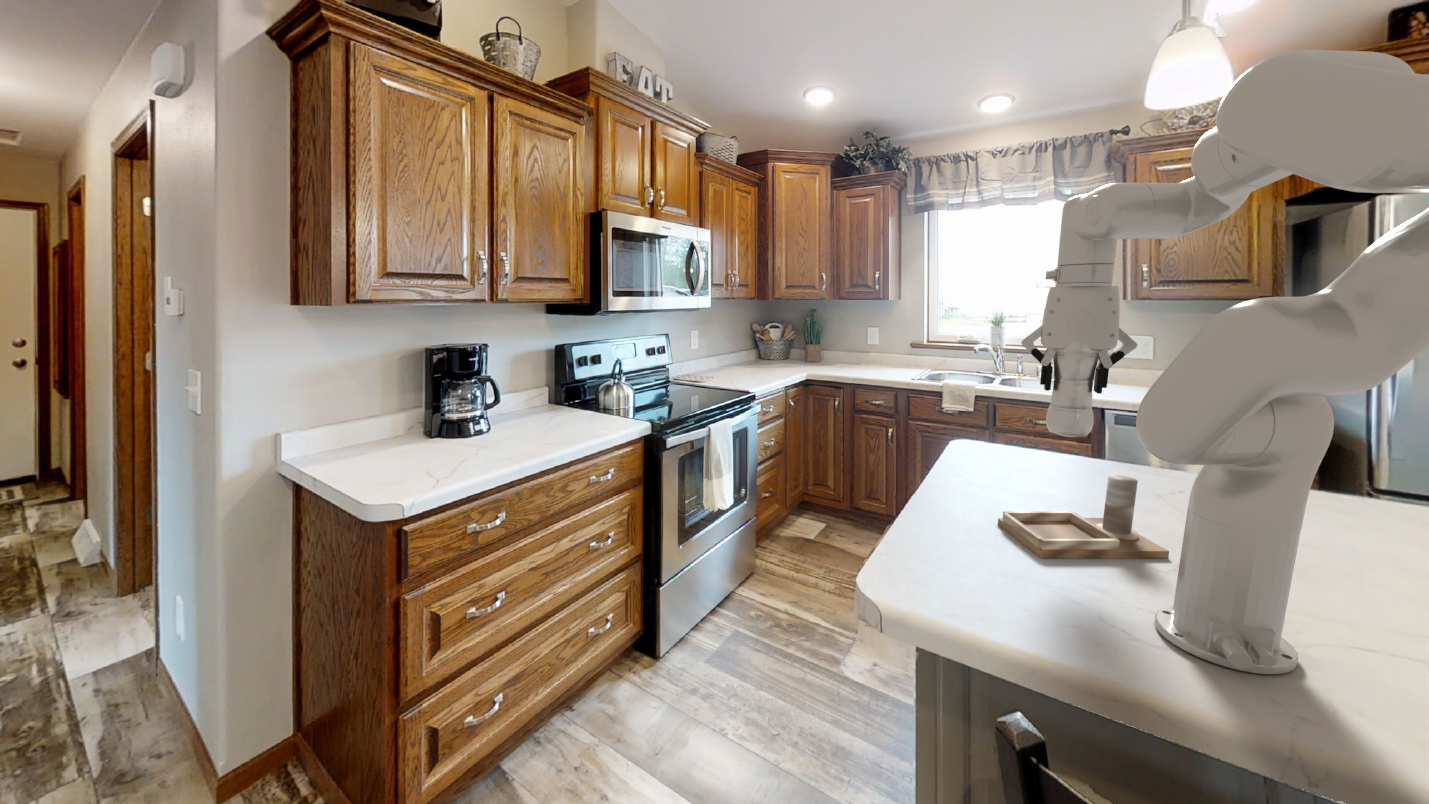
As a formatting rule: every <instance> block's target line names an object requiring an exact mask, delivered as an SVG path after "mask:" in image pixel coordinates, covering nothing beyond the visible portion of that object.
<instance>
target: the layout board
mask: <svg viewBox="0 0 1429 804" xmlns="http://www.w3.org/2000/svg"><path fill="white" fill-rule="evenodd" d="M1138 482H1139V481H1138V479H1136V478H1134V477H1131V476H1126V475H1118V474H1113V475H1108V476H1107V485H1106V493H1105V500H1104V501H1105V502H1104V509H1103V516H1102V517H1082V516H1081V515H1080V514H1078V513H1076V512H1072V511H1070V510H1069V511H1067V510H1065V511H1064V510H1062V511H1060V510H1059V511H1057V510H1055V511H1054V510H1053V511H1050V510H1049V511H1048V510H1046V511H1045V510H1044V511H1036V510H1033V511H1031V510H1029V511H1026V510H1025V511H1024V510H1023V511H1022V510H1021V511H1018V510H1017V511H1016V510H1015V511H1006V510H1005V511H1003V512H1002V517H998V518H997V525H998V527H1000V528H1002V529H1003V530H1004V531H1005V532H1007V533H1008V534H1009V535H1010V536H1012V537H1013V538H1014V539H1015V540H1017V541H1018V542H1019V543H1021V544H1022V545H1023V546H1024V547H1026V548H1027V549H1028V550H1029V551H1030V552H1032V553H1033V554H1035V555H1036V556H1037V557H1039V558H1040V559H1047V560H1048V559H1169V555H1170V551H1169V550H1168V549H1166V548H1164V547H1162V546H1161V545H1159V544H1157V543H1156V542H1153V541H1151V539H1148V538H1146V537H1144V536H1142V535H1140V533H1139V532H1138V531H1137V530H1135V529H1133V528H1132V527H1133V519H1134V512H1135V504H1136V498H1137V490H1138Z"/></svg>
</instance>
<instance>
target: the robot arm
mask: <svg viewBox="0 0 1429 804" xmlns="http://www.w3.org/2000/svg"><path fill="white" fill-rule="evenodd" d="M1190 163H1191V164H1190V166H1191V167H1190V168H1191V172H1192V175H1193V177H1191V178H1188V179H1186V180H1182V181H1179V182H1174V183H1173V182H1113V183H1108V184H1104V185H1102V186H1100V187H1098V188H1096V189H1094V190H1093V191H1090V192H1089V193H1083V194H1079V195H1075V196H1072V197H1070V198H1068V199H1067V200H1066V201H1065V202H1064V205H1063V206H1062V207H1063V208H1062V214H1061V215H1062V216H1061V225H1060V235H1059V246H1058V254H1057V255H1058V257H1057V267H1056V268H1055V269H1052V270H1047V271H1046V272H1045V280H1051V281H1053V282H1054V286H1050V287H1049V290H1048V294H1047V296H1046V301H1045V306H1044V310H1043V316H1042V317H1043V318H1042V324H1041V325H1040V326H1039V327H1038V328H1036V329H1035V330H1034V331H1032V332H1031V333H1030V334H1028V335H1027V336H1026V337H1025V338H1023V339H1022V340H1021V345H1022V346H1023V348H1025V350H1027V351H1028V352H1029V354H1030V355H1032V357H1033V358H1034V359H1036V360H1037V362H1038V363H1040V364H1041V371H1040V380H1039V383H1040V385H1043V386H1044V387H1043V389H1044V391H1051V388H1052V380H1053V378H1052V377H1053V371H1054V366H1053V365H1052V360H1053V357H1054V355H1055V354H1056V350H1064V349H1067V348H1068V346H1069V345H1070V344H1071V343H1073V342H1075V341H1081V342H1084V343H1086V344H1087V346H1088V347H1089V349H1091V350H1092V351H1099V353H1098V355H1099V359H1098V364H1097V365H1098V366H1096V369H1095V375H1094V380H1093V392H1095V393H1096V394H1102V392H1103V388H1104V389H1106V388H1107V387H1108V380H1109V372H1110V370H1109V369H1110V368H1111V367H1113V365H1115V364H1117V363H1118V362H1120V361H1121V360H1123V358H1125V356H1127V355H1129V354H1130V353H1131V352H1133V351H1134V350H1135V349H1136V348H1138V343H1137V342H1136V341H1134V340H1133V339H1132V338H1131V336H1129V335H1128V333H1126V332H1125V331H1124V330H1122V329H1121V327H1120V317H1121V316H1120V313H1121V312H1120V311H1121V310H1120V307H1121V302H1120V289H1119V286H1118V285H1113V279H1114V270H1115V264H1116V263H1115V261H1116V259H1115V258H1116V254H1117V244H1118V240H1132V239H1133V240H1134V239H1135V240H1143V239H1144V240H1167V239H1174V238H1178V237H1182V236H1186V235H1188V234H1191V233H1194V232H1196V231H1199V230H1202V229H1204V228H1207V227H1209V226H1212V225H1215V224H1217V223H1218V222H1221V221H1223V220H1225V219H1227V218H1229V217H1230V216H1231V215H1233V214H1234V213H1235V212H1236V211H1237V210H1239V208H1240V207H1241V206H1242V205H1243V204H1244V203H1245V202H1246V201H1247V200H1248V198H1249V196H1251V193H1252V192H1254V191H1256V190H1259V189H1262V188H1263V187H1266V186H1268V185H1271V184H1273V183H1274V182H1277V181H1280V180H1283V179H1285V178H1287V177H1288V176H1292V175H1295V176H1298V177H1301V178H1304V179H1307V180H1309V181H1311V182H1315V183H1317V184H1321V185H1323V186H1326V187H1329V188H1333V189H1337V190H1343V191H1348V192H1353V193H1369V194H1370V193H1371V194H1386V193H1387V194H1429V74H1427V73H1426V74H1425V73H1424V74H1422V73H1416V72H1415V71H1414V70H1413V69H1412V67H1411V66H1410V65H1409V64H1408V63H1407V62H1406V61H1404V60H1403V59H1401V58H1399V57H1396V56H1394V55H1391V54H1388V53H1384V52H1378V51H1376V52H1375V51H1365V50H1361V51H1360V50H1332V49H1331V50H1329V49H1328V50H1327V49H1325V50H1324V49H1295V50H1289V51H1283V52H1281V53H1277V54H1274V55H1272V56H1271V55H1270V57H1267V58H1265V59H1263V60H1260V61H1259V62H1258V63H1257V62H1256V64H1254V65H1253V66H1251V67H1249V68H1248V69H1247V70H1246V71H1244V72H1243V73H1242V74H1241V75H1240V76H1239V77H1238V78H1237V79H1236V80H1235V81H1234V82H1233V83H1232V84H1231V85H1230V86H1229V88H1228V89H1227V90H1226V91H1225V93H1224V95H1223V97H1222V98H1221V101H1220V102H1219V105H1218V108H1217V110H1216V113H1215V126H1214V127H1213V128H1212V129H1209V130H1208V131H1206V132H1205V133H1203V135H1202V136H1201V137H1200V138H1199V139H1198V141H1197V142H1196V144H1195V145H1194V147H1193V150H1192V153H1191V158H1190ZM1039 338H1040V342H1041V343H1040V344H1041V345H1042V346H1043V347H1045V348H1046V349H1045V351H1044V353H1043V352H1041V350H1039V349H1038V348H1037V346H1036V345H1035V344H1034V342H1036V341H1037V340H1038V339H1039ZM1118 341H1119V342H1120V343H1121V344H1122V346H1120V347H1119V348H1118V349H1117V350H1115V351H1114V352H1112V353H1111V354H1110V353H1108V351H1111V350H1114V349H1115V348H1117V345H1118V343H1119V342H1118ZM1428 348H1429V207H1428V208H1426V209H1425V210H1424V211H1422V212H1420V213H1418V214H1417V215H1415V216H1413V217H1411V218H1409V219H1408V220H1406V221H1405V222H1402V223H1401V224H1400V225H1399V224H1398V226H1396V227H1394V228H1393V229H1391V230H1389V231H1388V232H1387V233H1385V234H1384V235H1382V236H1381V237H1379V238H1378V239H1376V240H1375V241H1374V242H1372V244H1371V245H1369V246H1368V247H1367V248H1366V249H1365V250H1363V252H1361V253H1360V255H1359V256H1358V257H1357V258H1356V259H1355V260H1354V261H1353V262H1352V263H1351V264H1350V266H1348V268H1346V269H1345V270H1344V271H1343V272H1342V273H1341V274H1340V275H1338V276H1337V277H1336V278H1335V279H1334V280H1333V281H1332V282H1330V283H1329V284H1328V285H1326V286H1325V287H1324V288H1323V289H1321V290H1320V291H1318V292H1315V293H1312V294H1309V295H1305V296H1304V295H1303V296H1268V297H1267V296H1266V297H1260V298H1259V297H1258V298H1253V299H1249V300H1244V301H1242V302H1239V303H1236V304H1233V305H1232V306H1230V307H1228V308H1226V309H1224V310H1223V311H1221V312H1219V313H1218V314H1216V315H1214V317H1212V318H1211V319H1210V320H1209V321H1208V322H1206V323H1205V324H1203V326H1202V328H1200V330H1199V331H1198V332H1197V333H1196V334H1195V335H1194V336H1193V337H1192V338H1191V340H1190V341H1188V343H1187V344H1186V346H1185V347H1184V348H1183V349H1182V350H1181V351H1180V352H1179V354H1178V355H1177V356H1176V357H1175V358H1174V360H1172V362H1171V363H1170V364H1169V365H1168V366H1167V368H1165V370H1164V371H1163V372H1162V373H1161V375H1160V376H1159V377H1157V379H1156V381H1154V383H1153V384H1152V385H1151V386H1150V387H1149V389H1148V391H1146V393H1145V395H1144V396H1143V398H1142V400H1141V402H1140V405H1139V406H1138V410H1137V413H1136V418H1135V419H1136V420H1135V429H1136V435H1137V437H1138V440H1139V442H1140V443H1141V445H1142V447H1143V448H1144V449H1145V450H1146V451H1147V453H1150V454H1151V455H1152V456H1154V457H1156V458H1157V459H1160V460H1162V461H1164V462H1168V463H1171V464H1174V465H1175V464H1176V465H1182V466H1183V465H1186V466H1187V465H1188V466H1202V468H1200V471H1199V472H1198V474H1197V475H1196V478H1195V479H1194V482H1193V485H1192V487H1191V490H1190V494H1189V500H1188V506H1187V512H1186V517H1185V523H1184V524H1185V525H1184V531H1183V537H1182V545H1181V552H1180V558H1179V565H1178V573H1177V579H1176V586H1175V590H1174V591H1175V593H1174V597H1173V598H1174V600H1173V605H1171V606H1170V605H1169V606H1167V607H1163V608H1160V609H1159V610H1157V612H1156V613H1155V618H1154V624H1155V625H1154V626H1155V628H1156V629H1157V631H1158V632H1159V634H1161V635H1162V636H1163V637H1164V638H1165V639H1166V640H1168V641H1169V642H1170V643H1172V644H1173V645H1174V646H1175V647H1178V648H1179V649H1181V650H1183V651H1185V652H1186V653H1189V654H1191V655H1193V656H1195V657H1197V658H1200V659H1201V660H1204V661H1207V662H1209V663H1213V664H1215V665H1219V666H1221V667H1225V668H1229V669H1233V670H1236V671H1241V672H1246V673H1251V674H1258V675H1259V674H1262V675H1279V674H1287V673H1289V672H1293V670H1295V669H1296V667H1297V665H1298V660H1299V653H1298V651H1297V650H1296V649H1295V647H1294V646H1293V645H1292V644H1291V643H1289V642H1288V640H1286V639H1285V638H1283V637H1282V635H1283V629H1284V624H1285V617H1286V612H1287V608H1288V601H1289V597H1290V590H1291V585H1292V580H1293V575H1294V569H1295V565H1296V564H1295V563H1296V557H1297V552H1298V547H1299V542H1300V537H1301V532H1302V531H1301V530H1302V528H1303V523H1304V519H1305V518H1304V517H1305V513H1306V507H1307V502H1308V499H1309V495H1310V492H1311V488H1312V484H1313V482H1314V479H1315V477H1316V474H1317V471H1318V470H1319V467H1320V466H1321V463H1322V461H1323V459H1324V457H1325V455H1326V453H1327V451H1328V448H1329V447H1330V445H1331V441H1332V439H1333V435H1334V430H1335V429H1334V427H1335V417H1334V413H1333V409H1332V407H1331V405H1330V403H1329V402H1328V400H1327V398H1325V397H1326V396H1327V397H1329V396H1345V395H1351V394H1358V393H1362V392H1367V391H1369V390H1371V389H1374V388H1376V387H1378V386H1379V385H1381V384H1383V383H1384V382H1385V381H1387V380H1388V379H1390V378H1391V377H1392V376H1394V375H1395V374H1396V373H1397V372H1399V371H1400V370H1401V369H1403V368H1404V367H1405V366H1406V365H1408V364H1409V363H1410V362H1411V361H1413V360H1414V359H1415V358H1417V357H1418V356H1419V355H1420V354H1422V353H1423V352H1425V350H1427V349H1428Z"/></svg>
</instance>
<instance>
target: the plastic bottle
mask: <svg viewBox="0 0 1429 804" xmlns="http://www.w3.org/2000/svg"><path fill="white" fill-rule="evenodd" d="M1098 353H1099V351H1092V350H1091V349H1089V347H1088V346H1087V344H1086V343H1084V342H1081V341H1075V342H1073V343H1071V344H1070V345H1069V346H1068V348H1067V349H1064V350H1056V354H1055V355H1054V357H1053V359H1052V360H1053V379H1054V380H1053V386H1052V392H1051V398H1050V402H1049V406H1048V407H1047V408H1048V409H1047V412H1046V417H1045V424H1046V428H1047V430H1048V431H1049V432H1050V433H1052V434H1055V435H1059V436H1062V437H1066V438H1073V437H1077V438H1078V437H1086V436H1088V435H1089V434H1090V433H1091V432H1092V430H1093V426H1094V423H1095V422H1094V417H1095V416H1094V410H1093V388H1094V381H1095V372H1096V367H1097V365H1098V363H1099V355H1098Z"/></svg>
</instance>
